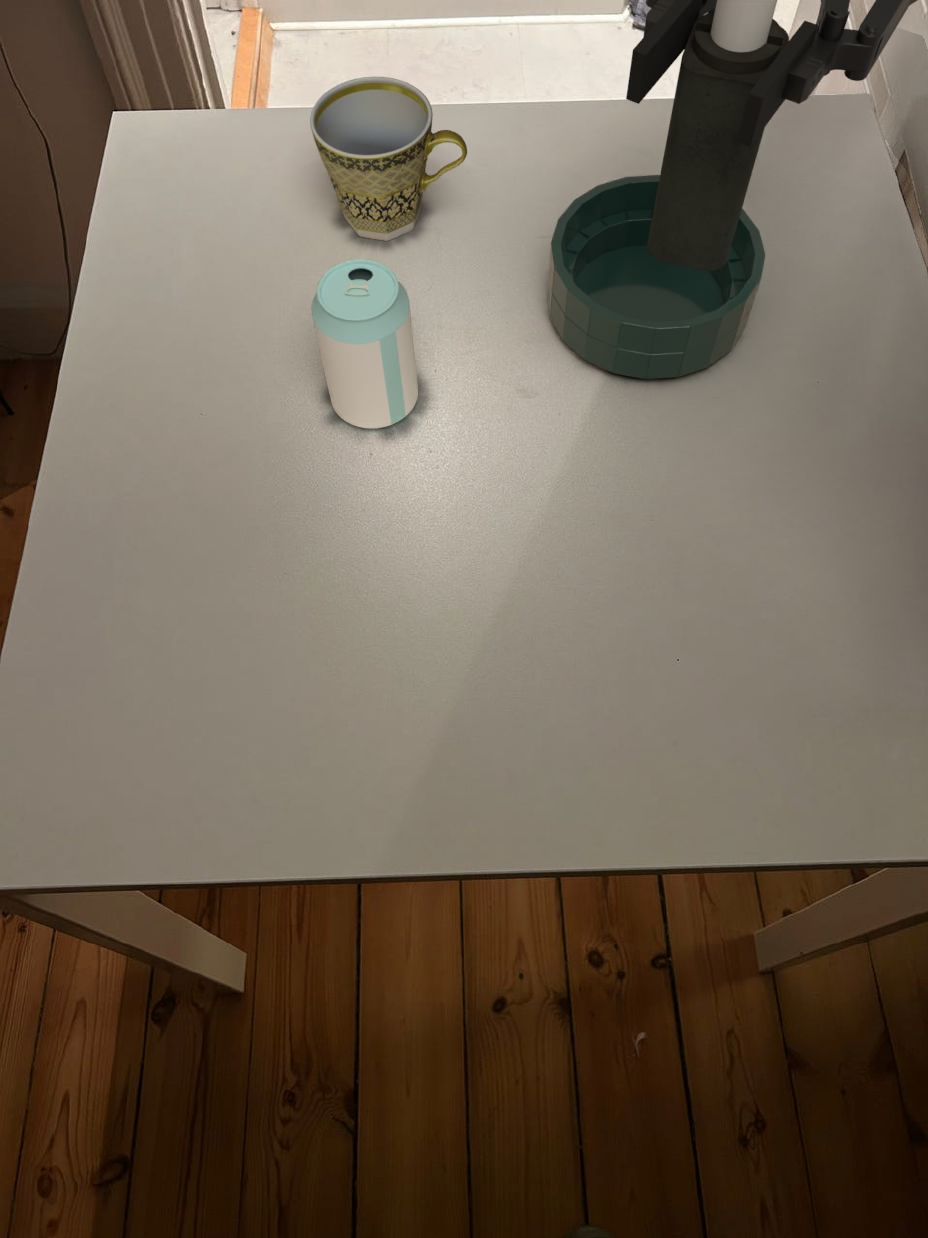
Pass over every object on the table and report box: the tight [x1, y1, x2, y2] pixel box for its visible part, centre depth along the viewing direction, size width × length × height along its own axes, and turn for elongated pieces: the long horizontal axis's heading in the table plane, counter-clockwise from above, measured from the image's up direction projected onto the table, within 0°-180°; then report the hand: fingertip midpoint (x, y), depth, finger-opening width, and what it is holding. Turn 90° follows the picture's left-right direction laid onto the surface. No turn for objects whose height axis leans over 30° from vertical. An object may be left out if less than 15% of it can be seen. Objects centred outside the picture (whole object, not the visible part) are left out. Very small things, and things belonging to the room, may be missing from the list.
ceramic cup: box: [309, 76, 468, 242], centre depth 85 cm, size 13×10×10 cm
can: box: [311, 258, 419, 429], centre depth 75 cm, size 7×7×12 cm
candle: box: [647, 0, 790, 271], centre depth 52 cm, size 5×5×25 cm
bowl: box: [546, 174, 766, 380], centre depth 81 cm, size 17×17×6 cm
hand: (692, 97), depth 50 cm, fingers closed on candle, 6 cm apart
